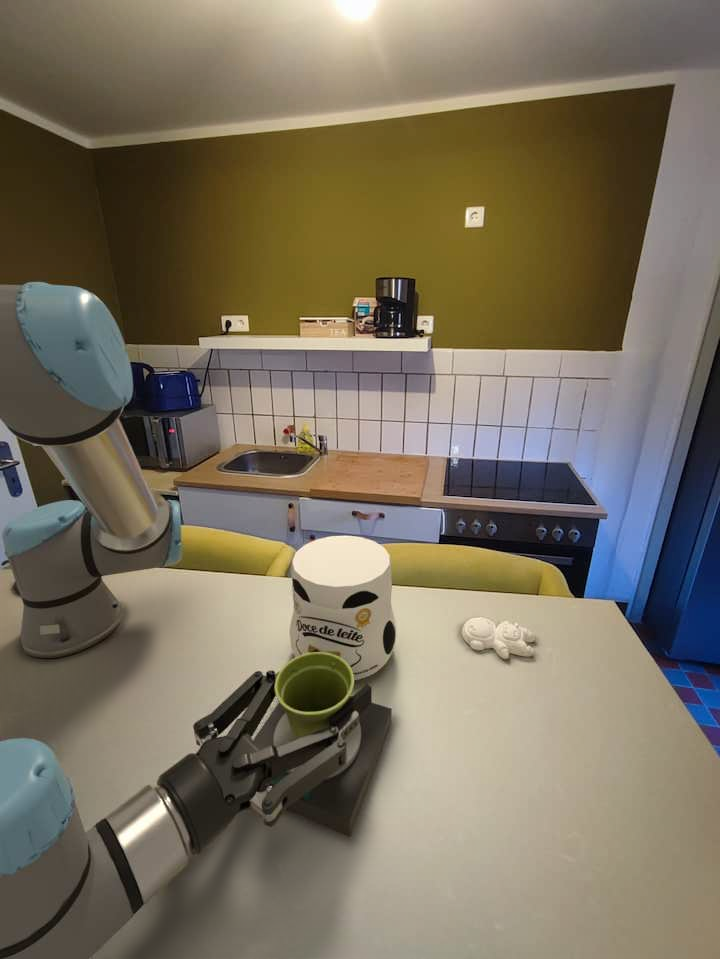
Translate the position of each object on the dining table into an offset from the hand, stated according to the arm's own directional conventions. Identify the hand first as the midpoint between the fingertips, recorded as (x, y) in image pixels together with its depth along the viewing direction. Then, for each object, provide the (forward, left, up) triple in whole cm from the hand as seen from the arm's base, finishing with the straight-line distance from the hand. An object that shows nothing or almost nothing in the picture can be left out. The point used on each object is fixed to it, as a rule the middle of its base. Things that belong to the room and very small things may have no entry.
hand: (342, 674), depth 55 cm
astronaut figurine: (+18, +25, -9) cm, 33 cm away
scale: (-2, -4, -9) cm, 10 cm away
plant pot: (-2, -4, -6) cm, 8 cm away
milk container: (-6, +13, -9) cm, 17 cm away
